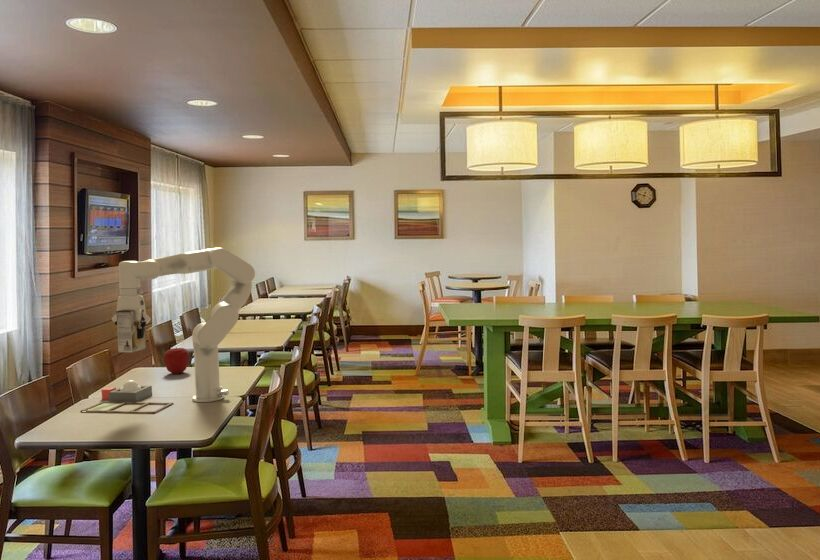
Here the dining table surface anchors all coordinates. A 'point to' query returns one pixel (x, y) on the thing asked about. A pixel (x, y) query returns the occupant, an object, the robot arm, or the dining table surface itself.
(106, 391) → the red die
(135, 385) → the dome
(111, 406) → the frame
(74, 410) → the dining table surface
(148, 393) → the dome housing
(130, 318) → the coffee box
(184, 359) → the apple
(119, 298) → the robot arm
